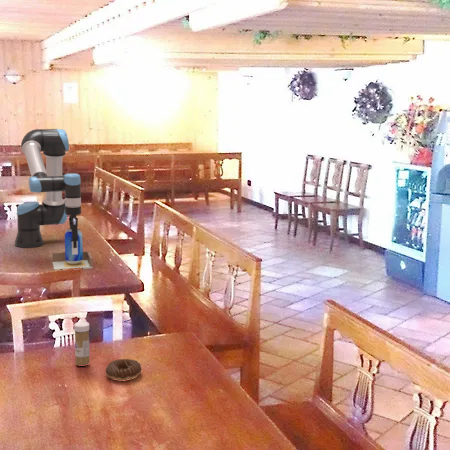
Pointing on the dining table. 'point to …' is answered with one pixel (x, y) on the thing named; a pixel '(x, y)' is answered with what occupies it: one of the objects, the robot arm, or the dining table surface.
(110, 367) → the donut
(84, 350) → the sprinkles bottle
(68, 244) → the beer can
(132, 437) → the dining table surface
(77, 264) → the tray
